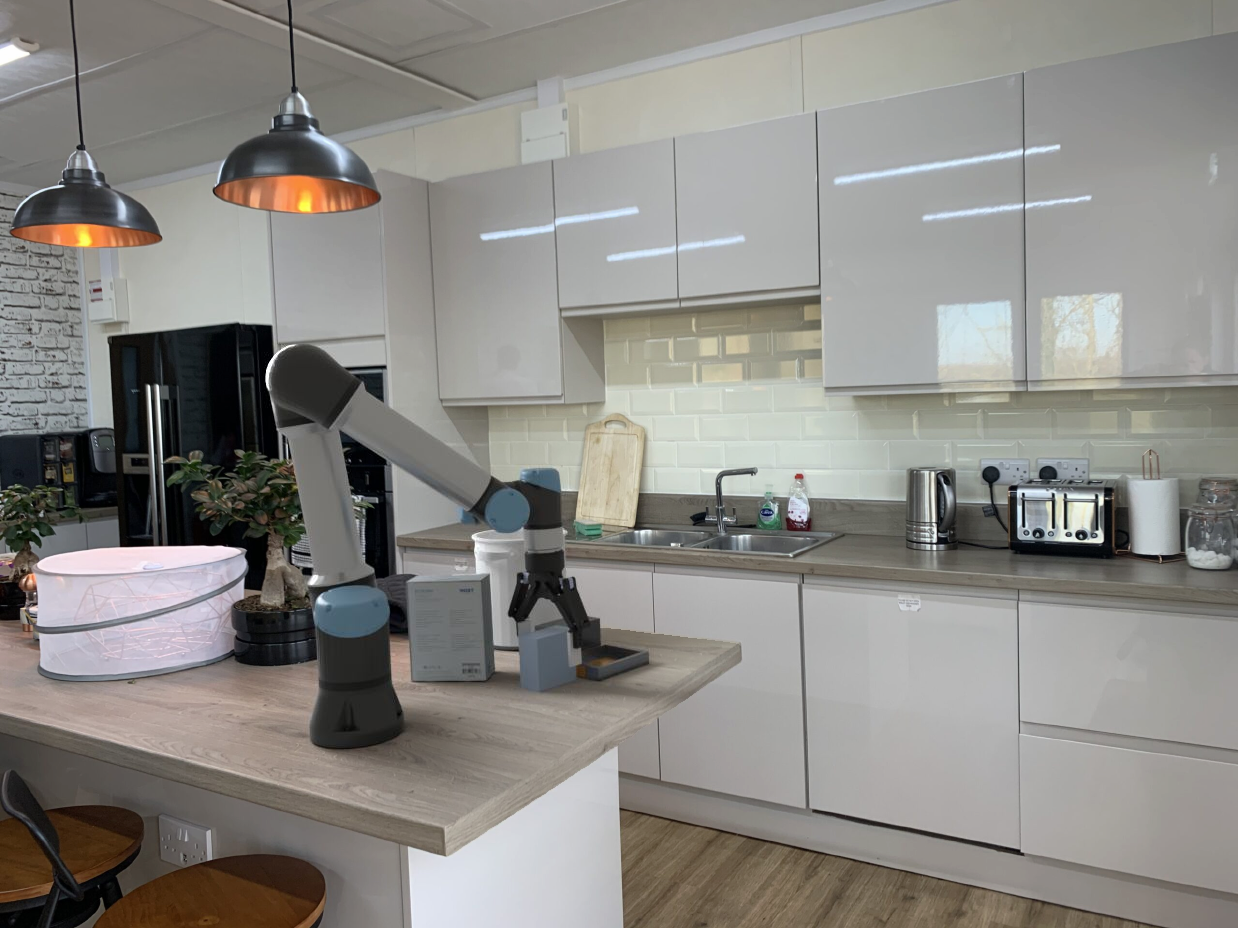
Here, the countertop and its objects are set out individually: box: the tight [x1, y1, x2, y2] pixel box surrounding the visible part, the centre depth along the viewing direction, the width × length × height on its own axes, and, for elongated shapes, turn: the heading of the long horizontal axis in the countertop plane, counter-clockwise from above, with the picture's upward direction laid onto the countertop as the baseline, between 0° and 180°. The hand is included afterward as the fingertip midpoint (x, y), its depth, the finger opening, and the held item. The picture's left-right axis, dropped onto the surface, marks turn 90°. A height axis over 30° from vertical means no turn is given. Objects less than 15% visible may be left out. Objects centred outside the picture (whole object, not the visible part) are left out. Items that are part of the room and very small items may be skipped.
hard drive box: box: [405, 573, 496, 682], centre depth 185 cm, size 16×8×20 cm, turn 84°
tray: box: [535, 615, 650, 682], centre depth 191 cm, size 15×20×8 cm
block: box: [518, 625, 578, 693], centre depth 178 cm, size 10×5×10 cm, turn 138°
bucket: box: [471, 527, 569, 651], centre depth 212 cm, size 26×22×24 cm
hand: (549, 659), depth 179 cm, fingers open, 13 cm apart
